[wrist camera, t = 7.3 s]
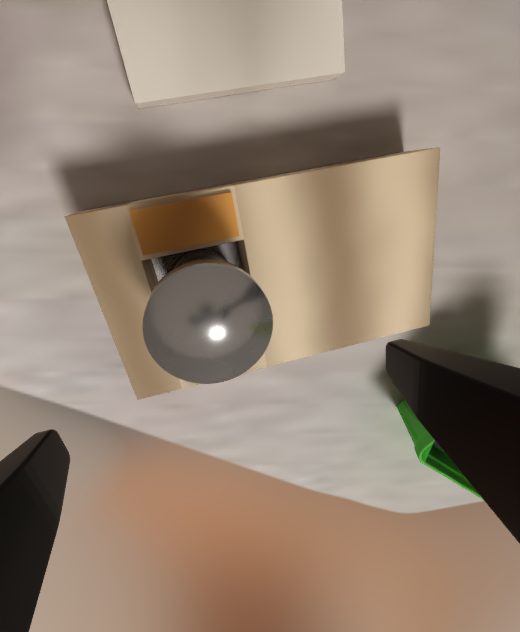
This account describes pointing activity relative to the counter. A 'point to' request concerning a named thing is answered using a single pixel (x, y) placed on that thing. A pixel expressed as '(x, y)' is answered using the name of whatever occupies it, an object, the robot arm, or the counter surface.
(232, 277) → the peg
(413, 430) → the fruit basket
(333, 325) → the rail plate
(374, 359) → the counter surface
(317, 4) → the tab
